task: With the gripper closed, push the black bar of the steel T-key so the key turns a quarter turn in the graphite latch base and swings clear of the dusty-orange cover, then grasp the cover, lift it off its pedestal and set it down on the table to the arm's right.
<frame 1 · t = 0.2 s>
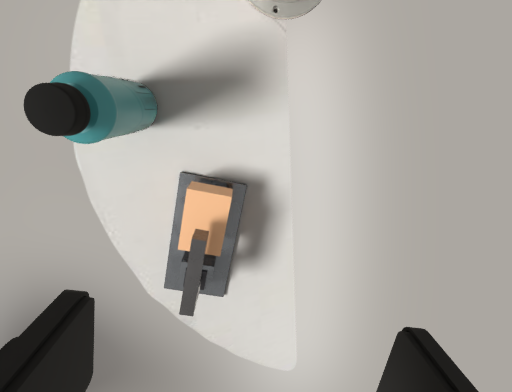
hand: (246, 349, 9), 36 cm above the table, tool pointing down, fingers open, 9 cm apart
latch base: (203, 237, 47), on the table
cover: (207, 213, 44), point 2 cm above the table, touching latch base
beverage bottle: (138, 107, 41), on the table
t key: (196, 265, 40), point 8 cm above the table, hinge at 0.0°
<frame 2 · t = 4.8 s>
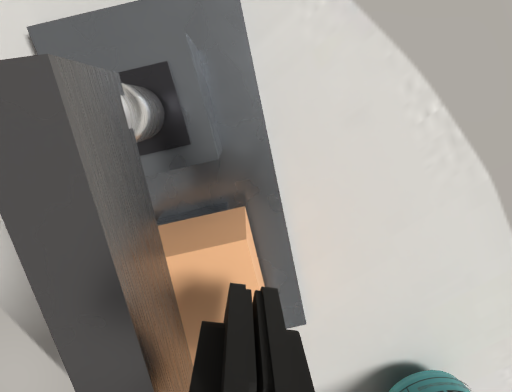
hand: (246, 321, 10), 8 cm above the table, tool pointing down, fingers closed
latch base: (192, 198, 17), on the table
cover: (211, 290, 17), point 2 cm above the table, touching latch base
beverage bottle: (410, 380, 23), on the table
t key: (140, 257, 10), point 8 cm above the table, hinge at 4.9°, touching gripper
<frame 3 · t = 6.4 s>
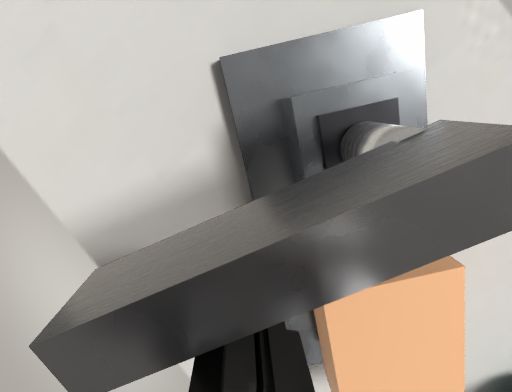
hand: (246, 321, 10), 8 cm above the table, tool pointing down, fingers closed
latch base: (342, 217, 18), on the table
cover: (364, 307, 17), point 2 cm above the table, touching latch base
t key: (270, 220, 9), point 8 cm above the table, hinge at 78.9°, touching gripper
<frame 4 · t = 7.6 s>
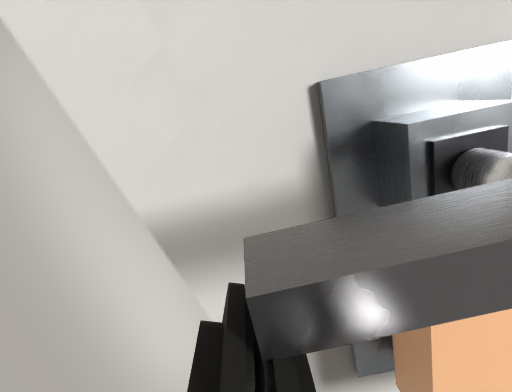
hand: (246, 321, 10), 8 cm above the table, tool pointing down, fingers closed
latch base: (417, 232, 18), on the table
cover: (439, 319, 18), point 2 cm above the table, touching latch base
t key: (414, 222, 10), point 8 cm above the table, hinge at 89.2°, touching gripper
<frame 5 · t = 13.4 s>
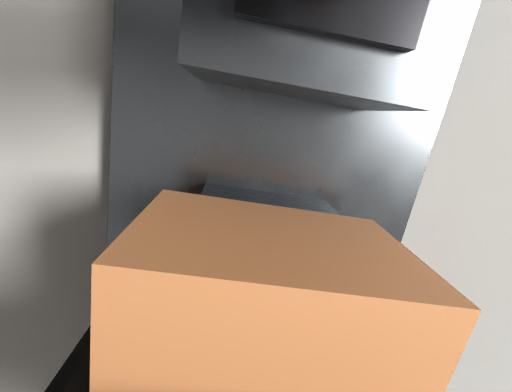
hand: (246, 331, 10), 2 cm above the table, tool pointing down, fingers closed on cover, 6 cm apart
latch base: (268, 173, 10), on the table
cover: (246, 336, 9), point 2 cm above the table, touching gripper, latch base
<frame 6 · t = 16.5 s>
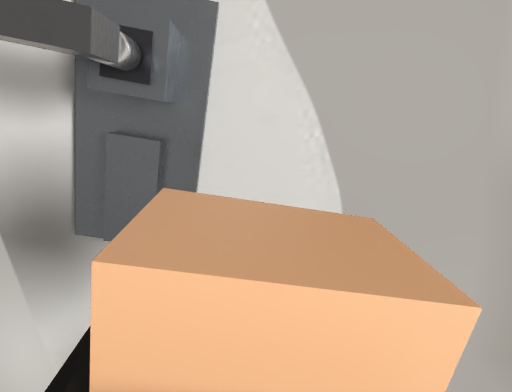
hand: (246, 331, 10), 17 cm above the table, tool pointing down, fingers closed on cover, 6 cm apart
latch base: (142, 128, 24), on the table
cover: (246, 335, 9), point 17 cm above the table, touching gripper
t key: (10, 23, 15), point 8 cm above the table, hinge at 91.0°
when the fingers open (1 cm above the table, at t = 19.9 s): cover drops 2 cm, on the table.
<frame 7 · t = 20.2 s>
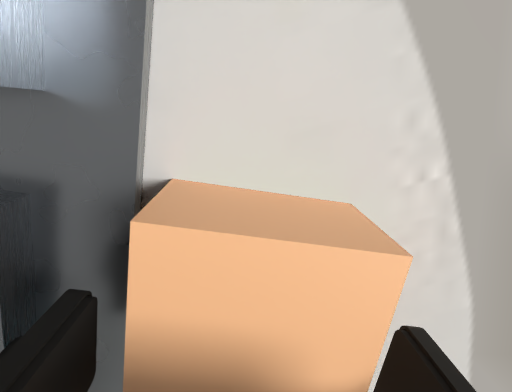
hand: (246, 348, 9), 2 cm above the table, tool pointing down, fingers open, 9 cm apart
cover: (244, 302, 11), on the table
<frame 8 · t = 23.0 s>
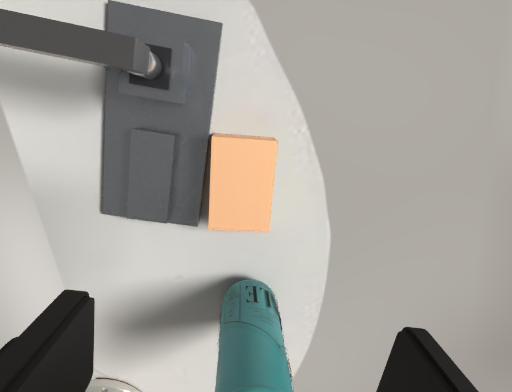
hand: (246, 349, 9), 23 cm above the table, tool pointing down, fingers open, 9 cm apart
latch base: (159, 125, 29), on the table
cover: (241, 177, 32), on the table
beverage bottle: (248, 292, 36), on the table
t key: (68, 45, 20), point 8 cm above the table, hinge at 91.0°
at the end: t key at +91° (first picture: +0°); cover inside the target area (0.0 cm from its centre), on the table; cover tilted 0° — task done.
